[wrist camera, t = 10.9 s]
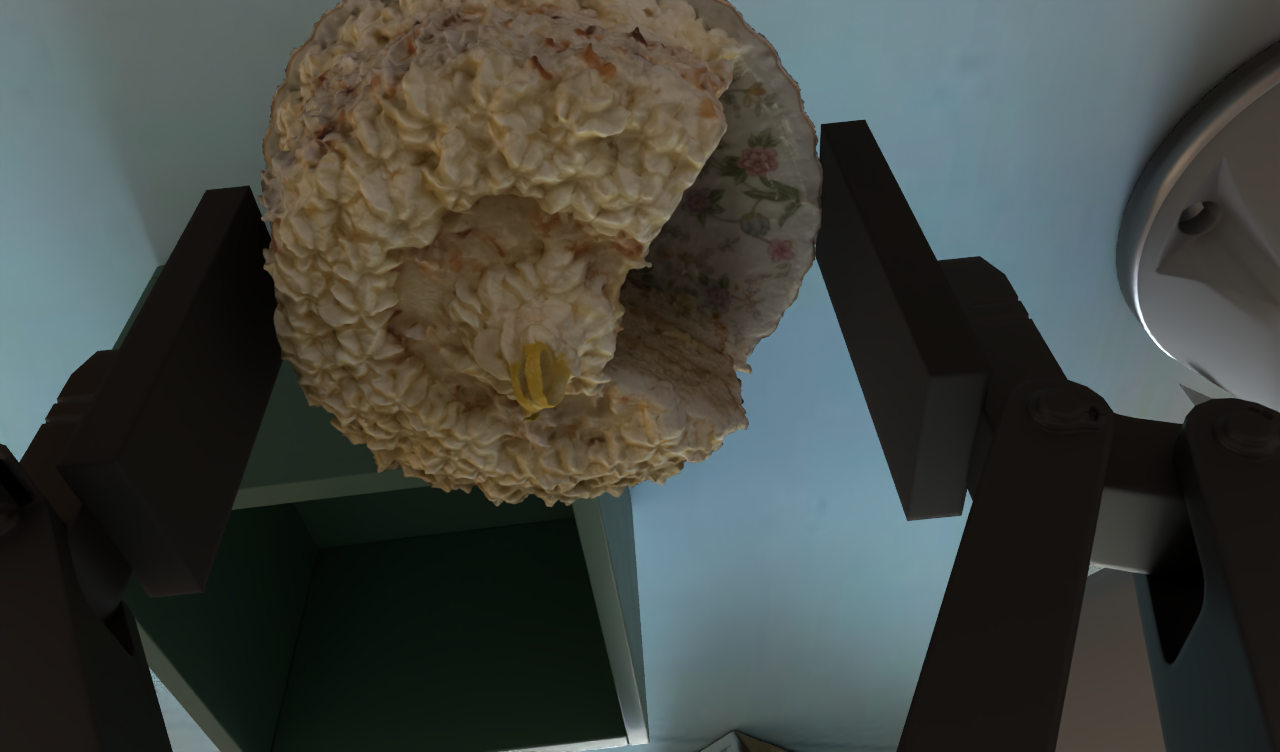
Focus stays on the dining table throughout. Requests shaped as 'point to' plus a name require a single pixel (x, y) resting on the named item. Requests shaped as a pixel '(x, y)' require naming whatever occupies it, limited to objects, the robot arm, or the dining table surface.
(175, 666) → the bin
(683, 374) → the cake
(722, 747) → the beverage carton
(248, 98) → the dining table surface
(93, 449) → the robot arm
